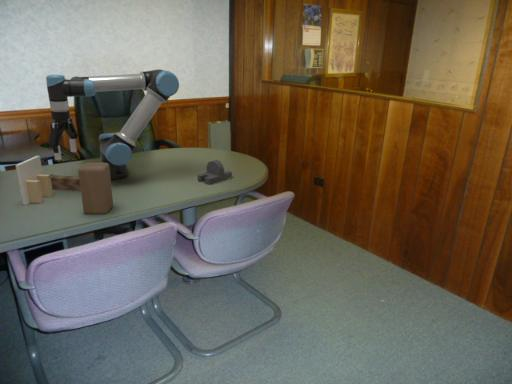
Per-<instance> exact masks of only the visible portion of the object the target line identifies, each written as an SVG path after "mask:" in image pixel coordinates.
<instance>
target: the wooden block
mask: <svg viewBox="0 0 512 384" xmlns="http://www.w3.org/2000/svg"><path fill="white" fill-rule="evenodd" d="M77 171H78V173H77V174H78V177H79V181H80V188H81V191H80V194H81V195H80V196H81V202H82V203H81V204H82V210H83V213H84V214H87V215H88V214H91V215H92V214H97V215H98V214H102V215H103V214H105V215H106V214H108V213H109V212H110V210H111V208H112V207H113V205H114V201H113V190H112V189H113V188H112V182H111V181H112V179H111V178H110V168H109V164H108V163H102V162H85V163H84V164H83V165H82V166H80V167H79V168H78V170H77Z"/></svg>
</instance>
